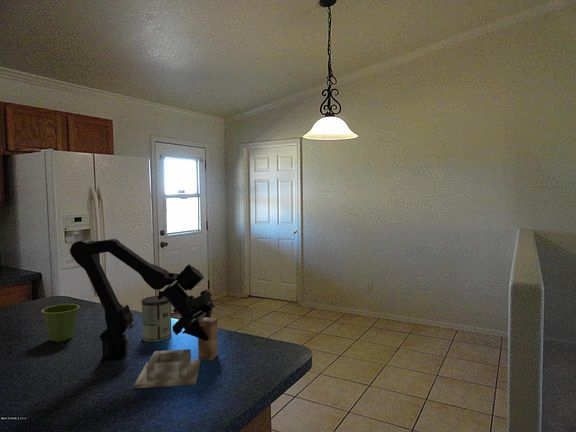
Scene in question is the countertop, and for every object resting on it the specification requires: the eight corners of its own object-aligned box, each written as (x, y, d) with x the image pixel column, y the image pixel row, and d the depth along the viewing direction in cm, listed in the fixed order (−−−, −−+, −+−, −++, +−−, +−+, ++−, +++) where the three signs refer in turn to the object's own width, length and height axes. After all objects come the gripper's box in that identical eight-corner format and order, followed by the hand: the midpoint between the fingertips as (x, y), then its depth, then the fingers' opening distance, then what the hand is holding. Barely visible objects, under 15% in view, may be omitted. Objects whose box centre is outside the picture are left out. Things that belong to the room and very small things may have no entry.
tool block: (134, 388, 100) (134, 369, 100) (146, 365, 114) (146, 349, 114) (195, 384, 102) (195, 366, 102) (200, 362, 116) (200, 346, 116)
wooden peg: (198, 359, 119) (198, 321, 118) (204, 353, 123) (204, 317, 122) (211, 360, 117) (211, 322, 117) (217, 354, 122) (217, 318, 121)
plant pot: (50, 347, 128) (49, 315, 128) (36, 339, 135) (35, 309, 135) (86, 337, 138) (85, 307, 137) (71, 330, 145) (70, 302, 144)
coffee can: (150, 331, 144) (149, 295, 143) (176, 332, 143) (175, 295, 142) (136, 341, 134) (135, 302, 133) (164, 342, 133) (163, 303, 132)
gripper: (180, 290, 111) (215, 330, 109) (209, 278, 129) (239, 312, 127) (157, 315, 113) (191, 354, 111) (188, 299, 131) (218, 333, 129)
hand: (211, 336), depth 120 cm, fingers open, 6 cm apart
